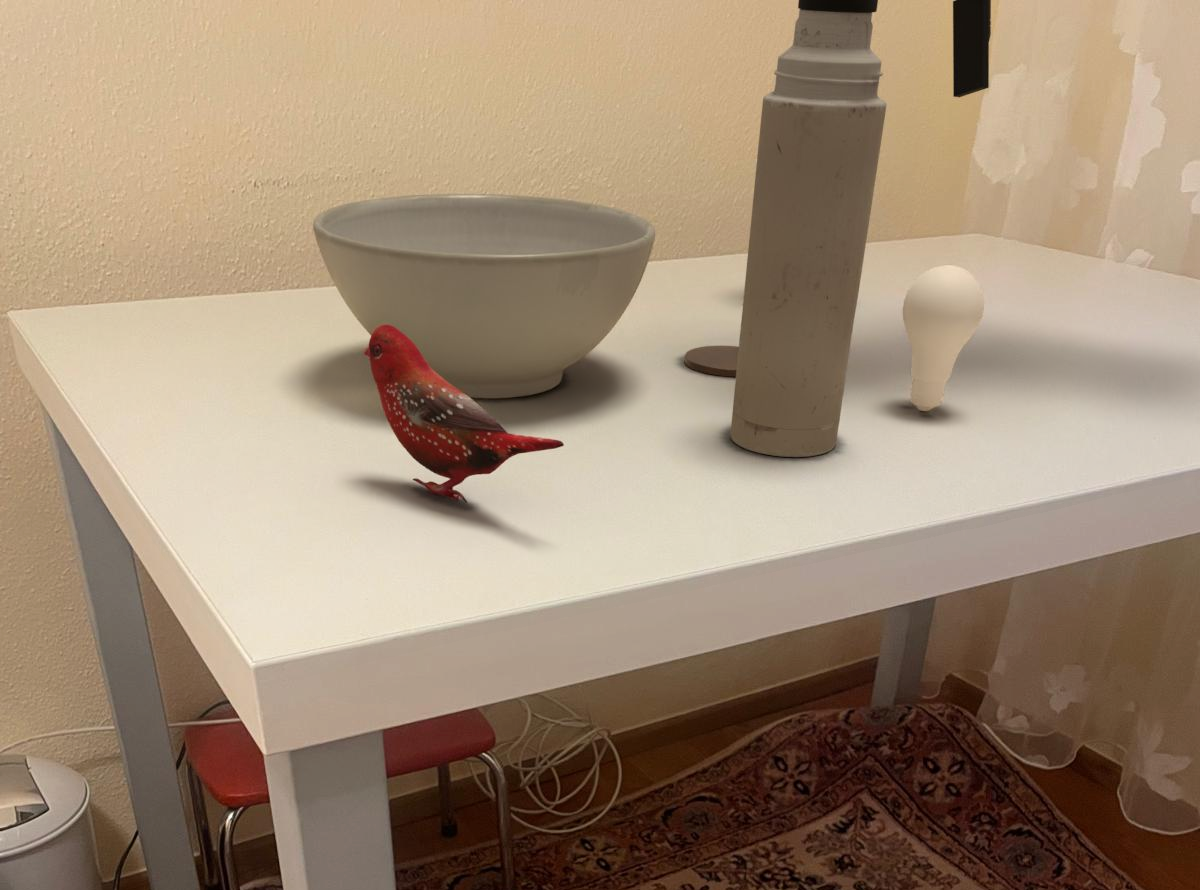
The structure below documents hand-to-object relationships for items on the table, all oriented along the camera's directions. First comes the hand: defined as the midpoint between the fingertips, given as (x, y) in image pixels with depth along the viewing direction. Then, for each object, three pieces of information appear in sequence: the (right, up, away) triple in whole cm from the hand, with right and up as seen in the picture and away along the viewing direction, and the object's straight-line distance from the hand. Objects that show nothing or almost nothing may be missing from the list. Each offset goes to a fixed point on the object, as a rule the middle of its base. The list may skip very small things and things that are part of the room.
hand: (913, 86), depth 89 cm
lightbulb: (+3, -22, +9) cm, 23 cm away
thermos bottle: (-10, -26, +1) cm, 28 cm away
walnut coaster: (-12, -14, +18) cm, 26 cm away
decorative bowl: (-33, -18, +12) cm, 39 cm away
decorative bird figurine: (-32, -34, -11) cm, 48 cm away
